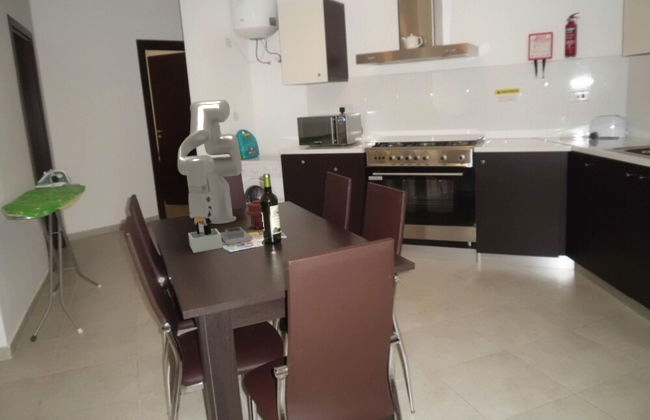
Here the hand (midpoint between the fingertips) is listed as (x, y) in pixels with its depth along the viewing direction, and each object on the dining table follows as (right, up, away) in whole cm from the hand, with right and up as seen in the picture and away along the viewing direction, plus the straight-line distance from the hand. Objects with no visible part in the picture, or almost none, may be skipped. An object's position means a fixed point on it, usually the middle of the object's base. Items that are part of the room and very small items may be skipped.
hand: (204, 233), depth 202 cm
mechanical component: (+19, +1, +27) cm, 33 cm away
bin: (0, -6, +1) cm, 6 cm away
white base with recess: (+11, -3, +10) cm, 15 cm away
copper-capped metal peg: (0, -3, +1) cm, 3 cm away
